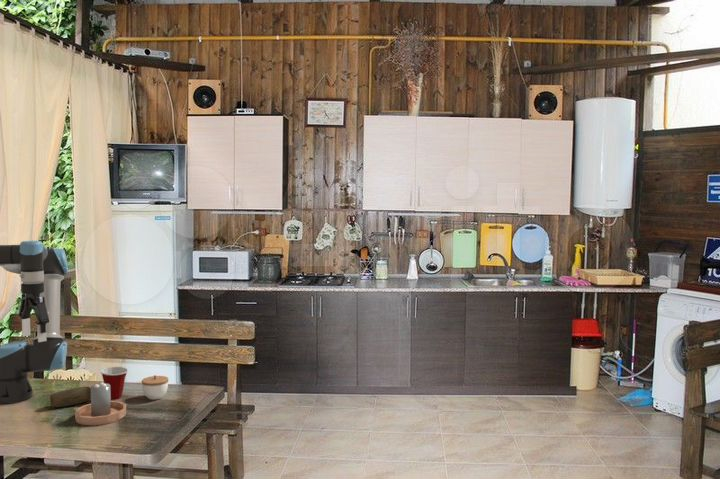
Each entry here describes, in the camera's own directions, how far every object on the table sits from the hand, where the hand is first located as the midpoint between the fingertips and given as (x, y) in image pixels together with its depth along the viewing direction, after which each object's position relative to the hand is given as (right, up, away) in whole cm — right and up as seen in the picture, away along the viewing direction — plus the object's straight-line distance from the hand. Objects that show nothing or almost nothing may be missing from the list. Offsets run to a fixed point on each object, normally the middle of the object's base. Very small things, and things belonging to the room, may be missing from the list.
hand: (34, 338), depth 222 cm
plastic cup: (+18, -30, +30) cm, 46 cm away
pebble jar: (+22, -30, +7) cm, 38 cm away
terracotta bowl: (+22, -31, +7) cm, 39 cm away
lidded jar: (+35, -30, +30) cm, 55 cm away
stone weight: (+4, -31, +20) cm, 37 cm away
